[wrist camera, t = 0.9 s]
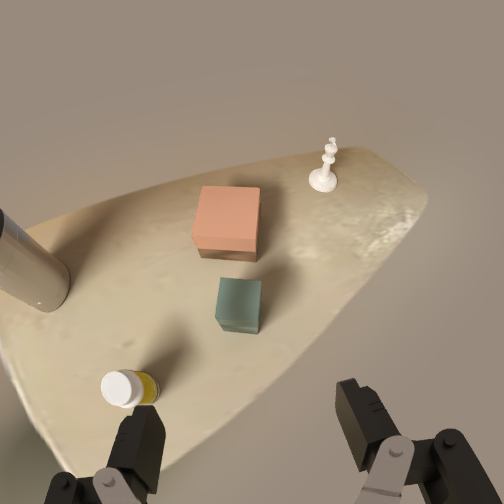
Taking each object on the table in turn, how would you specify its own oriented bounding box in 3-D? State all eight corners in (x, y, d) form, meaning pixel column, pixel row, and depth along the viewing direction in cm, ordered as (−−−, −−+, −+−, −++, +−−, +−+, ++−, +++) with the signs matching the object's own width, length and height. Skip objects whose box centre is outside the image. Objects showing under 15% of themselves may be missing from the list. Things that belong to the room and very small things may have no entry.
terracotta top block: (196, 248, 39) (191, 235, 36) (206, 200, 43) (202, 185, 40) (255, 252, 39) (255, 239, 36) (259, 202, 42) (259, 187, 39)
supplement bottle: (149, 366, 35) (123, 360, 28) (166, 397, 33) (142, 398, 26) (122, 381, 34) (91, 377, 26) (138, 411, 32) (109, 415, 25)
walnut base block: (201, 258, 42) (197, 248, 39) (210, 213, 46) (207, 200, 43) (256, 263, 42) (256, 252, 39) (260, 216, 45) (260, 203, 42)
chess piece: (330, 168, 49) (341, 126, 40) (340, 190, 47) (355, 148, 38) (304, 172, 49) (312, 129, 40) (314, 194, 47) (324, 151, 38)
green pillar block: (223, 330, 37) (215, 316, 30) (227, 298, 39) (220, 277, 32) (257, 334, 37) (257, 321, 30) (260, 301, 39) (261, 280, 32)
